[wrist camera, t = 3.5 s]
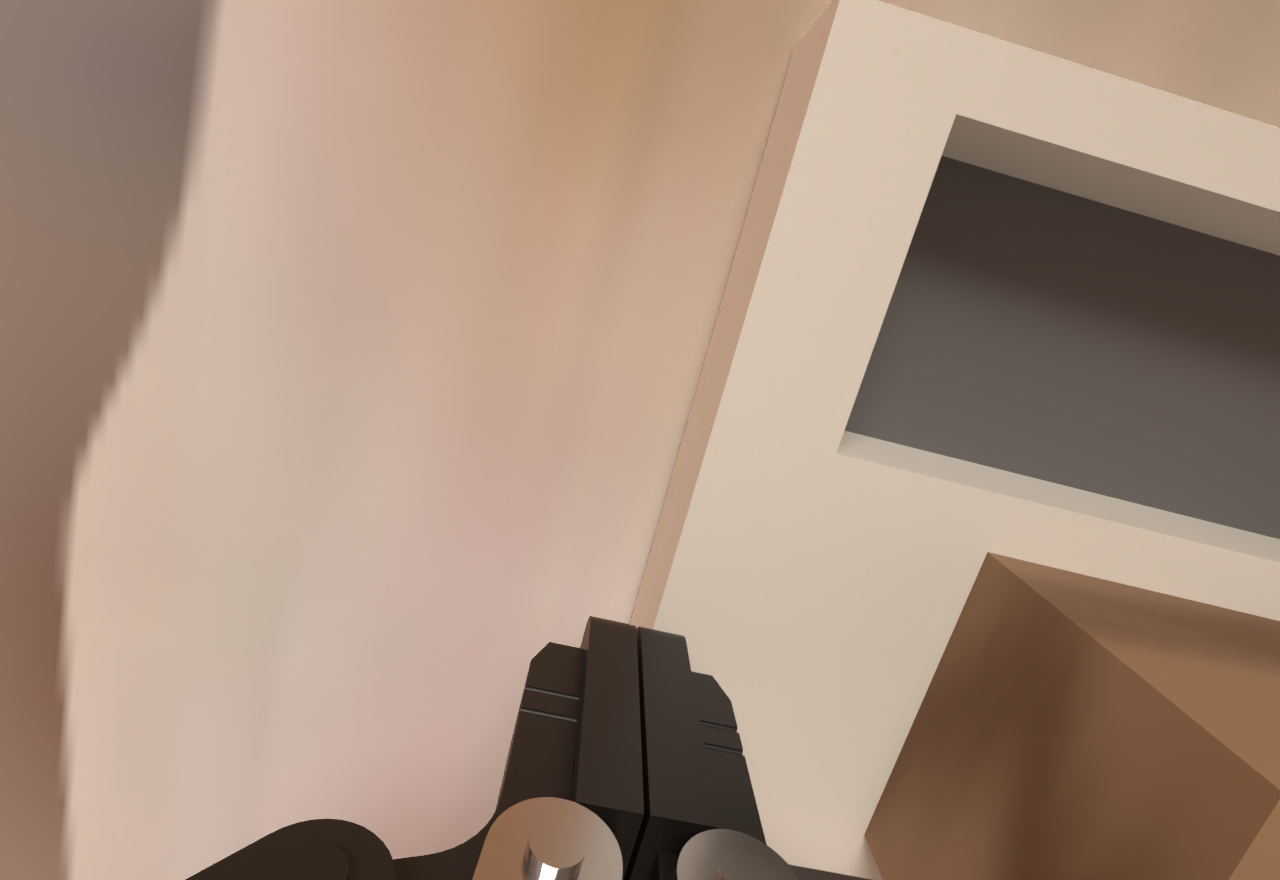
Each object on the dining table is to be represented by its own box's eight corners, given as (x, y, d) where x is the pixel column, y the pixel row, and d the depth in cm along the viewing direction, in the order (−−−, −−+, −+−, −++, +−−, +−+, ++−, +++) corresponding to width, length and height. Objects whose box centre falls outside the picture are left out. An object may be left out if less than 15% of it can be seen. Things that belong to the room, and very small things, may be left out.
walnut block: (987, 551, 11) (1283, 793, 6) (1305, 626, 11) (1810, 903, 6) (864, 834, 12) (1019, 1206, 8) (1149, 888, 13) (1463, 1266, 8)
